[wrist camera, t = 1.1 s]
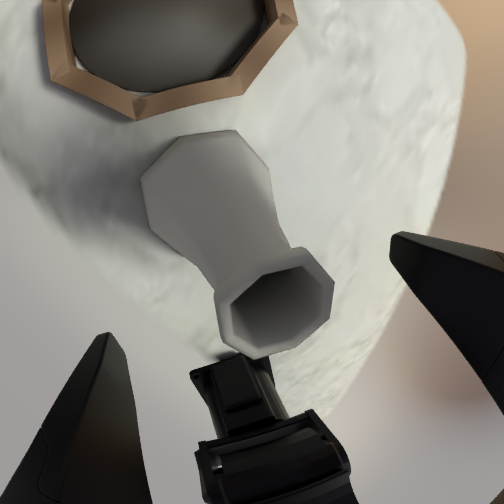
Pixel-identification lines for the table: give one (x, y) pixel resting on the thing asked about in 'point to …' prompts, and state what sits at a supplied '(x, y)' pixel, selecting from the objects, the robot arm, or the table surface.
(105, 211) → the table surface
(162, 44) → the brown octagonal tray
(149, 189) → the flask
